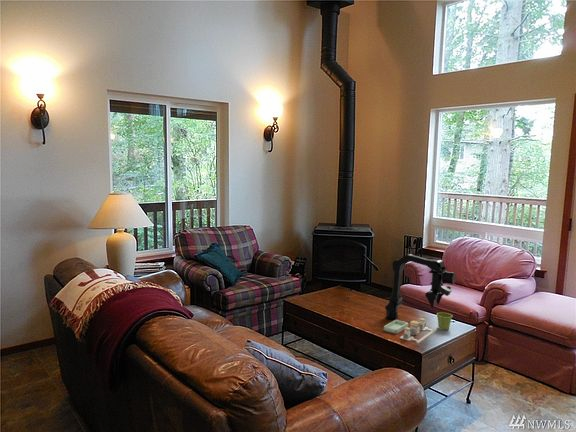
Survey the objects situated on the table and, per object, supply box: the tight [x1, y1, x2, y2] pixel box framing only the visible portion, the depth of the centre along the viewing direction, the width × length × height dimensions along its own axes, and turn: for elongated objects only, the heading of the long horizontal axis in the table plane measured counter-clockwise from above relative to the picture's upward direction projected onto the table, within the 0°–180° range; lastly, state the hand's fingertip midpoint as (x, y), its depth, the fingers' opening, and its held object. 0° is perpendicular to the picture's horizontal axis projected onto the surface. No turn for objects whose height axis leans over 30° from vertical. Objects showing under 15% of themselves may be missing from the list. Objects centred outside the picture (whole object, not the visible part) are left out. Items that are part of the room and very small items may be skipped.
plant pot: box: [436, 311, 453, 331], centre depth 254 cm, size 9×9×9 cm
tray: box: [382, 319, 410, 335], centre depth 253 cm, size 9×17×2 cm, turn 139°
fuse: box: [409, 319, 421, 336], centre depth 246 cm, size 4×4×7 cm
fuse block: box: [399, 317, 437, 345], centre depth 244 cm, size 11×27×6 cm, turn 139°
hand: (435, 306), depth 251 cm, fingers open, 9 cm apart
